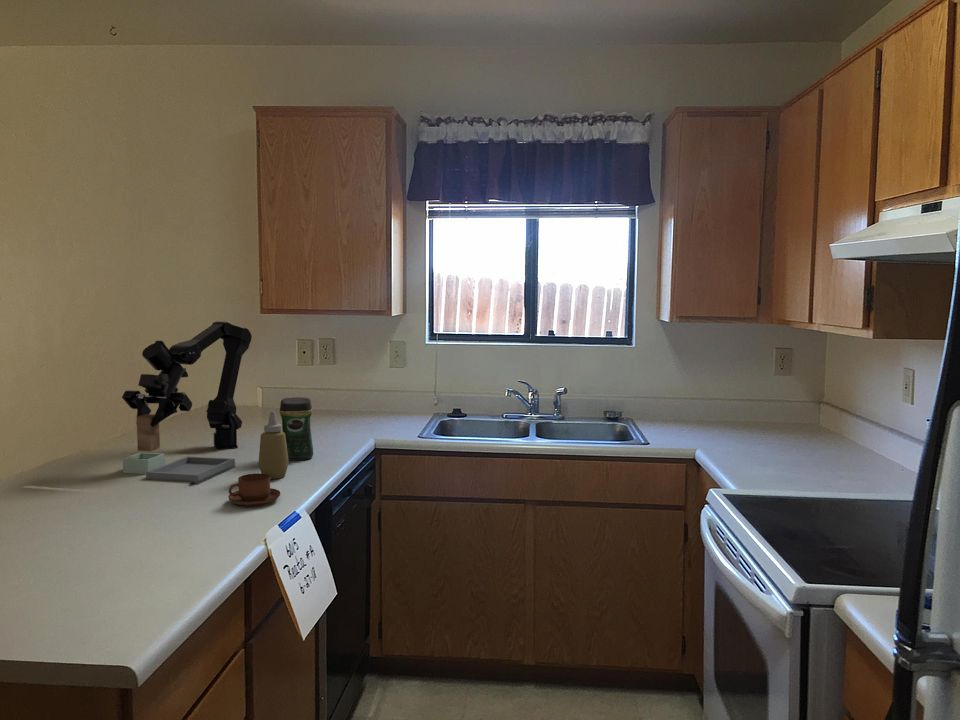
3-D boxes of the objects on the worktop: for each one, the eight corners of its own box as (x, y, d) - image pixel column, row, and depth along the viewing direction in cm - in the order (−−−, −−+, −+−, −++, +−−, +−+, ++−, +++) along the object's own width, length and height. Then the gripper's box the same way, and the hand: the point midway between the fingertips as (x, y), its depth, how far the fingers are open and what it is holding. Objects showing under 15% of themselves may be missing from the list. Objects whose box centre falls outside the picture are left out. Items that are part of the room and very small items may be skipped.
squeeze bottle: (295, 474, 199) (294, 410, 198) (277, 481, 192) (276, 415, 190) (270, 472, 202) (268, 408, 200) (252, 479, 194) (250, 413, 193)
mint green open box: (140, 468, 205) (140, 452, 205) (165, 469, 204) (164, 453, 203) (123, 474, 198) (122, 458, 197) (148, 476, 196) (147, 459, 196)
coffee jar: (313, 454, 224) (313, 395, 222) (312, 460, 216) (311, 399, 214) (281, 455, 222) (280, 395, 220) (279, 461, 214) (278, 399, 213)
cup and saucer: (252, 512, 166) (251, 486, 165) (217, 504, 172) (217, 478, 172) (291, 500, 176) (290, 475, 175) (257, 492, 182) (256, 468, 182)
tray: (187, 464, 210) (187, 456, 210) (235, 466, 207) (234, 458, 207) (146, 481, 191) (146, 472, 191) (198, 484, 189) (197, 475, 188)
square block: (147, 447, 202) (145, 414, 201) (159, 448, 202) (158, 414, 201) (137, 450, 198) (136, 416, 197) (150, 451, 198) (149, 417, 197)
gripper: (124, 362, 203) (99, 407, 193) (185, 363, 200) (162, 409, 190) (143, 386, 212) (120, 430, 202) (201, 388, 208) (180, 433, 199)
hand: (144, 425), depth 198 cm, fingers closed on square block, 4 cm apart
